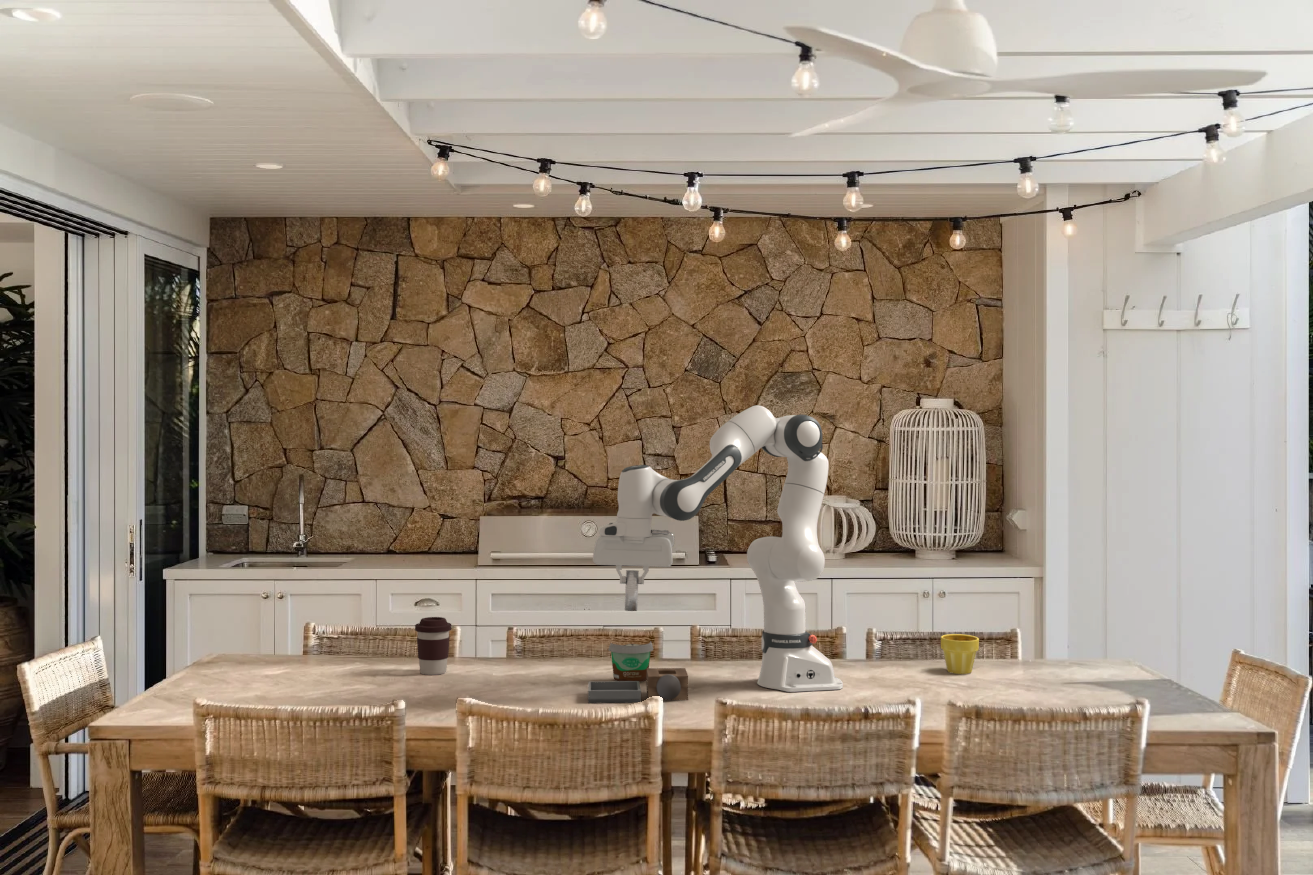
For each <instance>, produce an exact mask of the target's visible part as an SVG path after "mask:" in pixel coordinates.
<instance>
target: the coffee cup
mask: <svg viewBox="0 0 1313 875" xmlns="http://www.w3.org/2000/svg"><path fill="white" fill-rule="evenodd" d="M452 627H453V626H452V623H450V622H448V621H447V619H446V617H442V616H440V617H439V616H430V617H422V618H421V619H420V620H419V623H416V624H414V631H416V634H417V636H416V642H417V643H416V644H417V658H418V661H419V662H418V664H419V672H420V674H422V675H425V676H439V675H443V674H445V673H447V670H448V658H449V651H450V639H451V637H450V631H452Z"/></svg>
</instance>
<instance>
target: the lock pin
mask: <svg viewBox="0 0 1313 875" xmlns="http://www.w3.org/2000/svg"><path fill="white" fill-rule="evenodd" d="M639 574H640V573H639V570H638V569H637V570H635V569H626V570H625V576H626V584H625V589H624V590H625V593H624V611H626V612H637V611H638V603H639V602H638V601H639V600H638V599H639V598H638V597H639V584H638V577H640V576H639Z"/></svg>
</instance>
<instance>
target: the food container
mask: <svg viewBox="0 0 1313 875" xmlns="http://www.w3.org/2000/svg"><path fill="white" fill-rule="evenodd" d="M609 644H610V645H608V651H609V652H610V656H611V665H612V666H611V667H612V676H613V680H614V681H639V683H642V682H647V668H650V662H651V661H650V659H651V653H652V651H653V650H654V648H653V643H652V641H651V640H650V641H649V643H645V644H638V643H627V644H616V643H612V642H610V643H609Z"/></svg>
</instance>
